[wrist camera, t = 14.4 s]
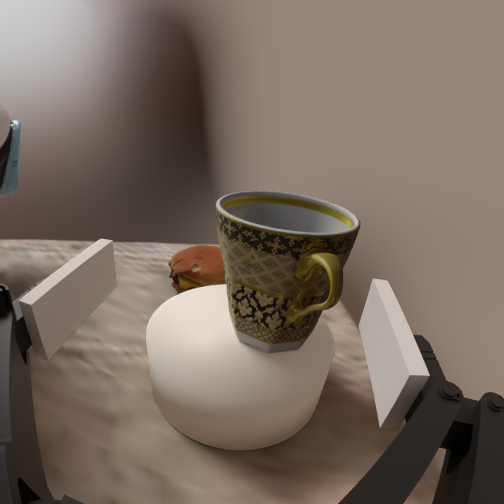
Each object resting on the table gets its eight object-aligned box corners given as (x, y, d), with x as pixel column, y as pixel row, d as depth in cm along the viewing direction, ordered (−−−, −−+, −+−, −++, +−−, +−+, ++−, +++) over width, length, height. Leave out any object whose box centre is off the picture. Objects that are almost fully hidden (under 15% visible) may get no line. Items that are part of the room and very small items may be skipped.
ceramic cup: (202, 297, 29) (207, 188, 25) (304, 292, 32) (322, 193, 28) (230, 409, 18) (245, 259, 14) (370, 384, 21) (419, 255, 17)
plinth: (137, 346, 30) (131, 296, 28) (267, 321, 37) (274, 275, 35) (184, 473, 18) (179, 429, 16) (350, 410, 25) (372, 362, 23)
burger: (239, 270, 49) (241, 241, 47) (245, 305, 40) (248, 271, 38) (172, 268, 47) (172, 238, 45) (165, 302, 39) (164, 268, 37)
